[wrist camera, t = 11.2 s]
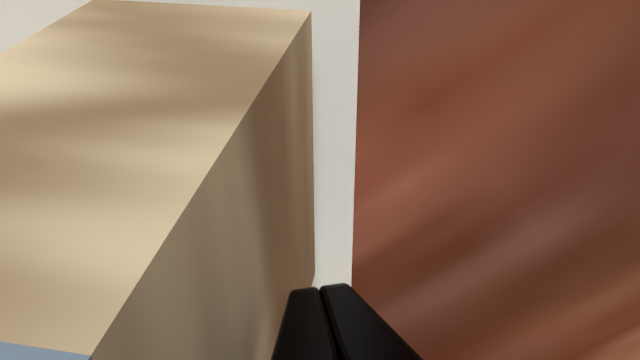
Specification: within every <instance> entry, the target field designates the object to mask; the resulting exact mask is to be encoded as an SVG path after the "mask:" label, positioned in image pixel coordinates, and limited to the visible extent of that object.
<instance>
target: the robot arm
mask: <svg viewBox="0 0 640 360" xmlns="http://www.w3.org/2000/svg"><path fill="white" fill-rule="evenodd" d="M271 360H423V359H422V358H421V357H420V356H419V355H418V354H417V353H416V352H415V351H414V350H413V349H412V348H411V347H410V346H409V345H408V344H407V343H406V342H405V341H404V340H403V339H402V338H401V337H400V336H399V335H398V334H397V333H396V332H395V331H394V330H393V329H392V328H391V327H390V326H389V325H388V324H387V323H386V322H385V321H384V320H383V319H382V318H381V317H380V316H379V315H378V314H377V313H376V312H375V311H374V310H373V309H372V308H371V307H370V306H369V305H368V304H367V303H366V302H365V301H364V300H363V299H362V298H361V297H360V296H359V294H358V293H357V292H356V291H355V290H354V289H353V288H352V287H351V286H349V285H348V284H346V283H338V284H330V285H323V286H321V287H320V289H318V288H317V287H308V288H300V289H294V290H292V291H291V292H290V293H289V296H288V300H287V303H286V307H285V311H284V314H283V318H282V321H281V325H280V328H279V332H278V335H277V339H276V343H275V346H274V350H273V353H272V357H271Z"/></svg>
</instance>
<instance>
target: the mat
mask: <svg viewBox="0 0 640 360" xmlns="http://www.w3.org/2000/svg"><path fill="white" fill-rule="evenodd" d="M90 1H92V0H0V53H2V52H4V51H5V50H7V49H9V48H10V47H12V46H14V45H16V44H17V43H19V42H21V41H23V40H24V39H26V38H28V37H29V36H31V35H33V34H35V33H36V32H38V31H40V30H42V29H43V28H45V27H47V26H48V25H50V24H52V23H54V22H55V21H57V20H59V19H60V18H62V17H64V16H66V15H67V14H69V13H71V12H73V11H74V10H76V9H78V8H79V7H81V6H83V5H85V4H86V3H88V2H90ZM121 1H140V2H159V3H178V4H197V5H216V6H235V7H254V8H273V9H292V10H311V18H312V90H313V162H314V233H315V276H314V279H313V283H312V286H311V287H317V288H318V289H320V287H321V286H323V285H330V284H338V283H346V284H348V285H349V286H351V275H352V242H353V209H354V177H355V144H356V112H357V79H358V47H359V14H360V0H121Z"/></svg>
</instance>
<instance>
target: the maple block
mask: <svg viewBox="0 0 640 360" xmlns="http://www.w3.org/2000/svg"><path fill="white" fill-rule="evenodd" d="M314 276H315V233H314V162H313V90H312V18H311V10H292V9H273V8H254V7H235V6H216V5H197V4H178V3H159V2H140V1H121V0H92V1H90V2H88V3H86V4H85V5H83V6H81V7H79V8H78V9H76V10H74V11H73V12H71V13H69V14H67V15H66V16H64V17H62V18H60V19H59V20H57V21H55V22H54V23H52V24H50V25H48V26H47V27H45V28H43V29H42V30H40V31H38V32H36V33H35V34H33V35H31V36H29V37H28V38H26V39H24V40H23V41H21V42H19V43H17V44H16V45H14V46H12V47H10V48H9V49H7V50H5V51H4V52H2V53H0V360H271V357H272V353H273V350H274V346H275V343H276V339H277V335H278V332H279V328H280V325H281V321H282V318H283V314H284V311H285V307H286V303H287V300H288V296H289V293H290V292H291V291H292V290H294V289H300V288H308V287H311V286H312V283H313V279H314Z"/></svg>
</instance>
